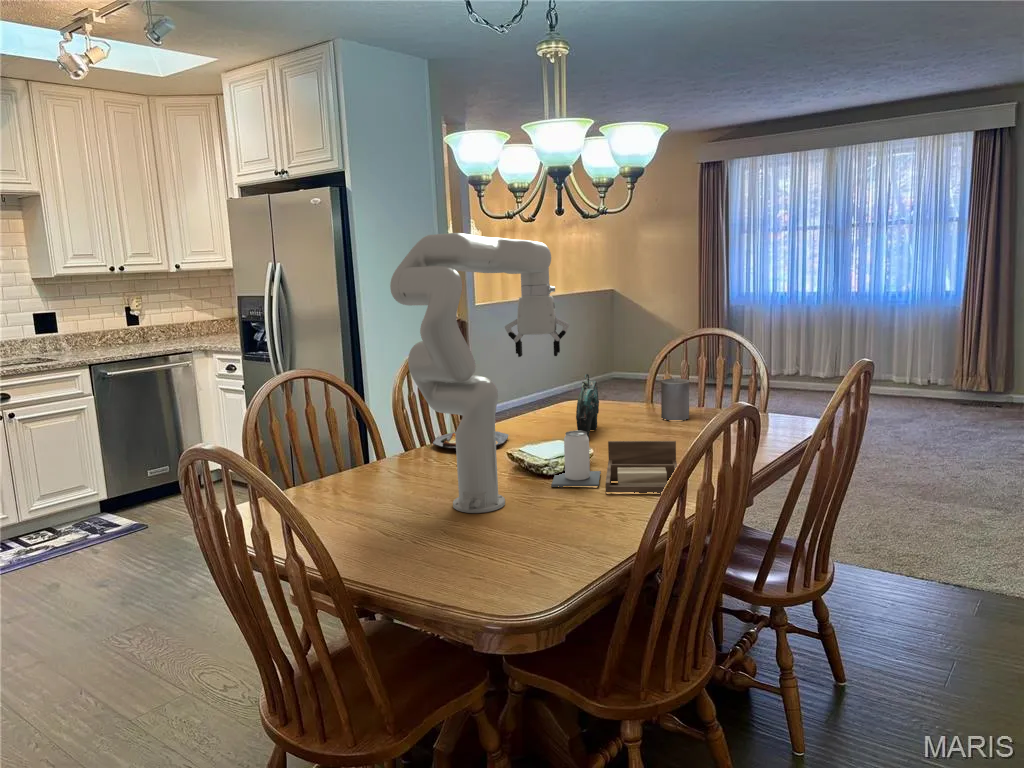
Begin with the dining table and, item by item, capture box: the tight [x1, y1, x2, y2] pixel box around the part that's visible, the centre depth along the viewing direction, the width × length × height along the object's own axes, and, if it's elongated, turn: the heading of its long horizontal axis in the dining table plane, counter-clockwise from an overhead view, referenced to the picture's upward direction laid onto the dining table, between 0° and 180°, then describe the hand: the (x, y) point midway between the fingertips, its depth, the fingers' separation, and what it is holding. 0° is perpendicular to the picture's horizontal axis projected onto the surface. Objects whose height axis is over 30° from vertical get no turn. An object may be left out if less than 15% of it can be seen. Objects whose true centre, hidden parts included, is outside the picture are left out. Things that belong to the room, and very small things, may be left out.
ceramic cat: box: [575, 373, 600, 439], centre depth 247 cm, size 20×6×20 cm, turn 164°
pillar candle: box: [660, 377, 690, 421], centre depth 265 cm, size 10×10×15 cm
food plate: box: [432, 430, 510, 449], centre depth 243 cm, size 25×23×4 cm
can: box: [563, 430, 591, 481], centre depth 196 cm, size 6×6×12 cm
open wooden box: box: [605, 440, 678, 494], centre depth 194 cm, size 22×18×8 cm
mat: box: [551, 470, 602, 487], centre depth 198 cm, size 12×12×1 cm
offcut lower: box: [617, 483, 668, 486], centre depth 190 cm, size 5×12×2 cm, turn 81°
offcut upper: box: [617, 467, 667, 483], centre depth 190 cm, size 5×12×2 cm, turn 83°
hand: (538, 355), depth 202 cm, fingers open, 9 cm apart
